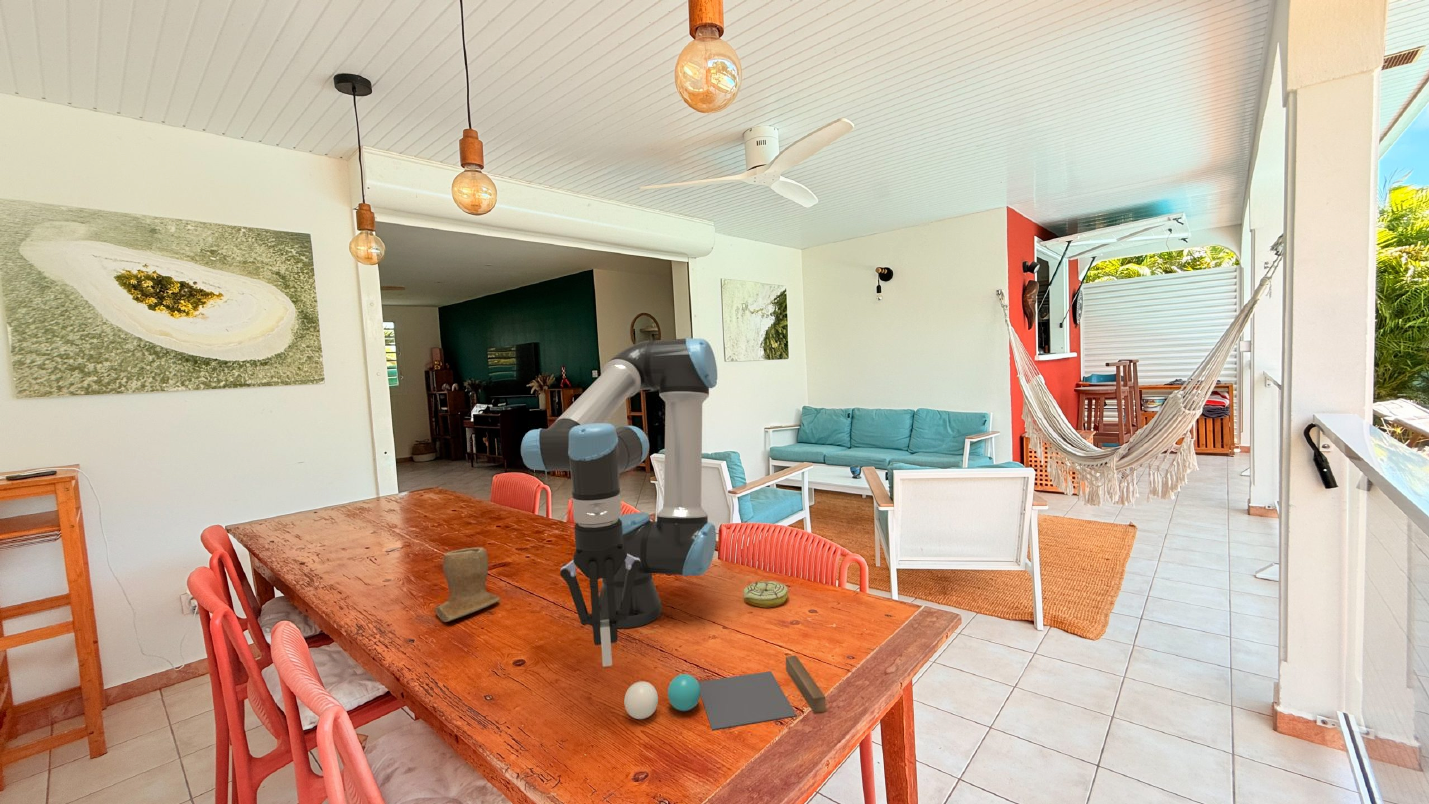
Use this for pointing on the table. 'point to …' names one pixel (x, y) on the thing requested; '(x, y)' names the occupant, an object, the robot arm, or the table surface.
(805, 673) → the rail
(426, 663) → the table surface
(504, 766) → the table surface
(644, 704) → the cue ball
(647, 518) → the robot arm
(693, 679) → the teal ball
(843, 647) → the table surface
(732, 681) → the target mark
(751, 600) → the decorated donut
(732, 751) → the table surface
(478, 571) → the tan flanged block
